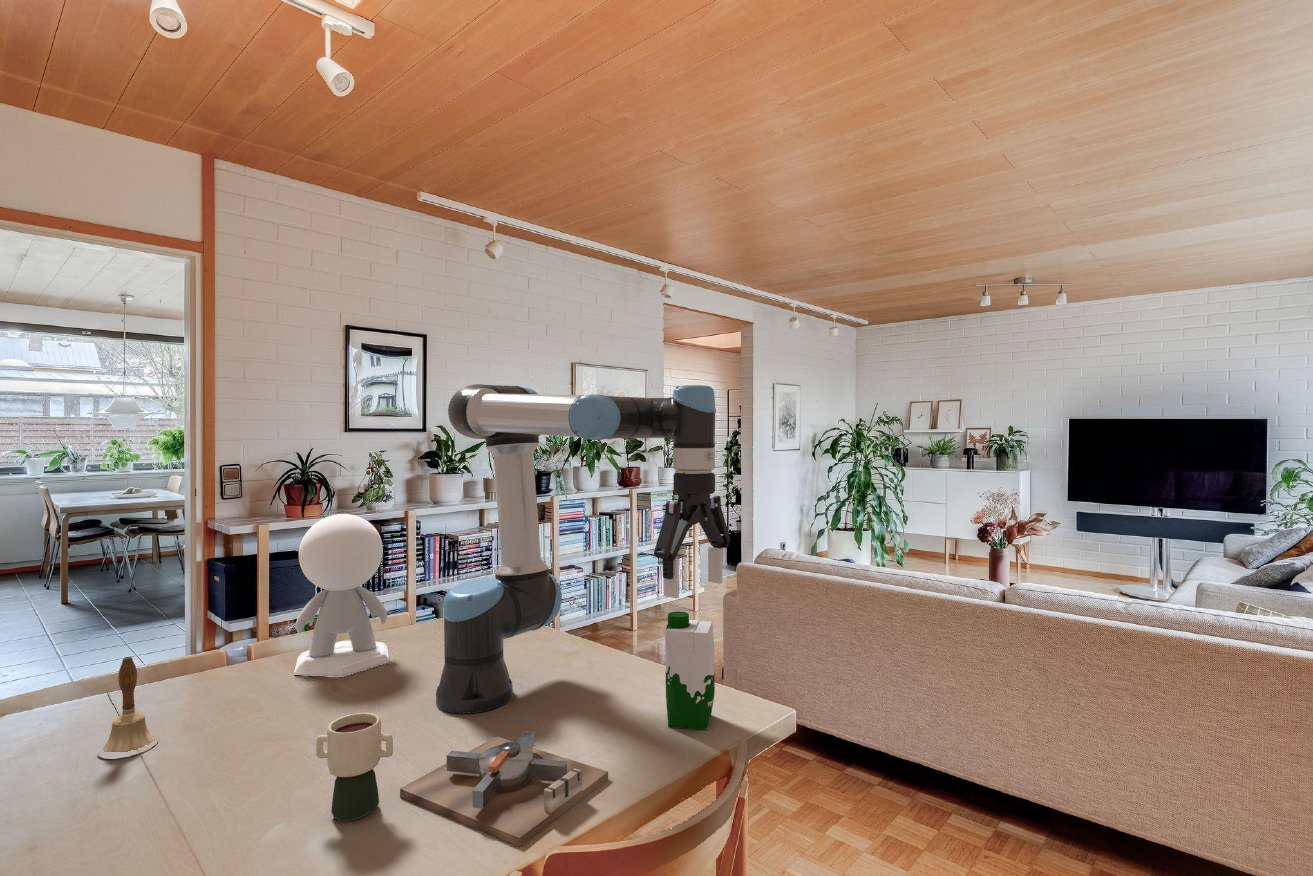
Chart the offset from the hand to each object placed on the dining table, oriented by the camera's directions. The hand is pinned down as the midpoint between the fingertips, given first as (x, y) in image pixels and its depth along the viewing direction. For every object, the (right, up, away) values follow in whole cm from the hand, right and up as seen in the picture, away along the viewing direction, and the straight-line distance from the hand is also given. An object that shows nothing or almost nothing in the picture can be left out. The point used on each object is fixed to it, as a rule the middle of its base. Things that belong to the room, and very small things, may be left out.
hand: (694, 589), depth 122 cm
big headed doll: (-81, -26, +39) cm, 94 cm away
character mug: (-50, -27, -24) cm, 62 cm away
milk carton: (0, -26, +5) cm, 26 cm away
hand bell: (-99, -27, -4) cm, 102 cm away
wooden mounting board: (-30, -26, -18) cm, 44 cm away
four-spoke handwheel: (-30, -25, -18) cm, 43 cm away
